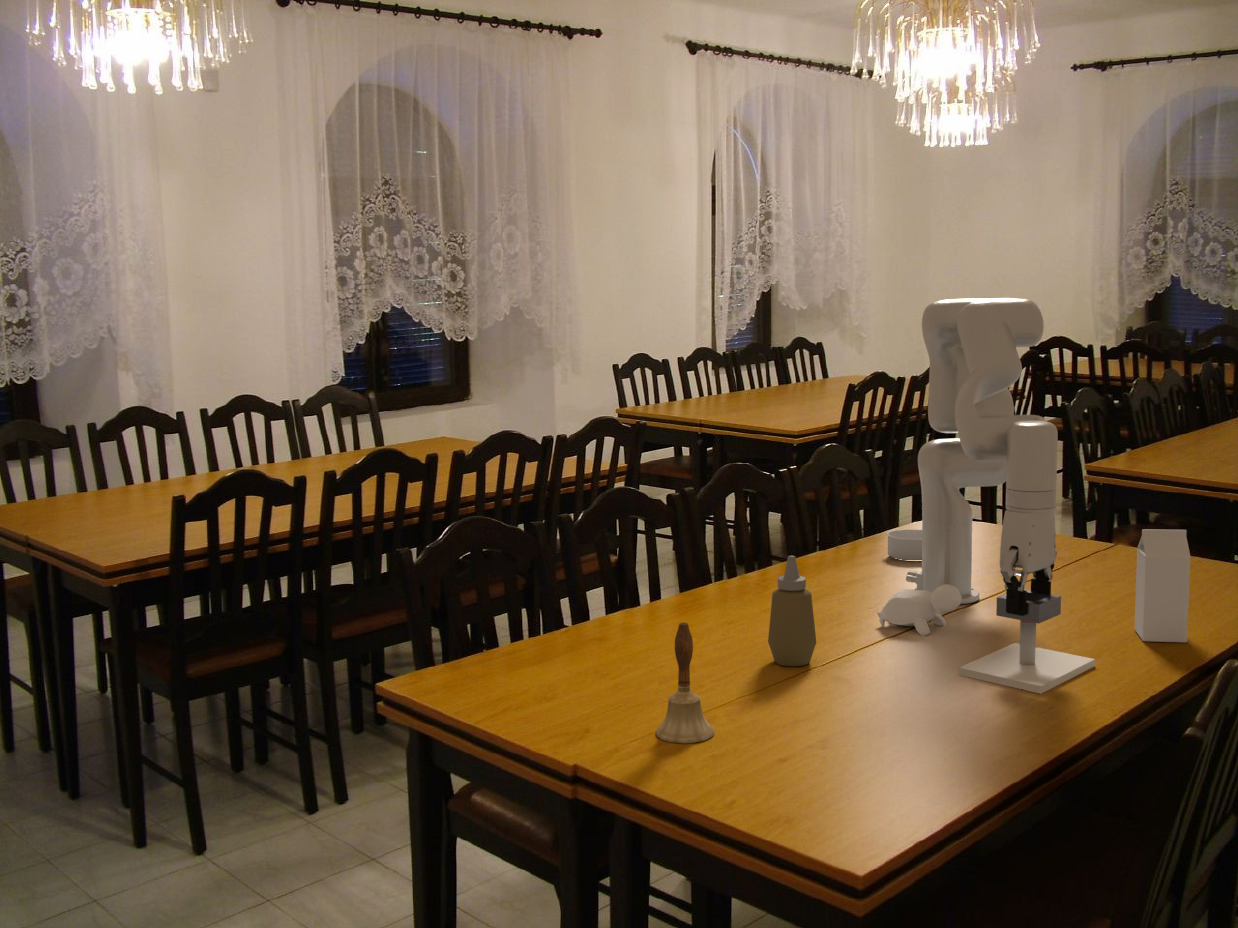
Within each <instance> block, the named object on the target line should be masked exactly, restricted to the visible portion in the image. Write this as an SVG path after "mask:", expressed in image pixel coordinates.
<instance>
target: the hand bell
mask: <svg viewBox="0 0 1238 928" xmlns="http://www.w3.org/2000/svg"><path fill="white" fill-rule="evenodd" d="M676 631H677V632H676V634H675V638H674V653H675V659H676V662H677V667H678V674H677V675H678V682H677V691H676V692H675V693H672V694H671V695H670V696H669V697H668V701H667V702H668V704H667V709H666V714H665V717H664V719H663V720H662V723H661V724H660V725H659V726H657V729H656V730H655V735H656V736H657V738H659V739H660V740H662V741H665V742H668V743H673V744H674V743H675V744H676V743H677V744H695V743H699V742H700V743H701V742H705V741H707V740H710V739H711V738H712V737H714V736H715V733H716V732H715V729H714V727H713V726H712V724H710V723H709V722H708V721H707V719H706V717H705V716H704V712H703V708H702V702H701V697H700V696H699V695H698V694H697V693H695V692H692V691H691V687H690V686H691V681H690V680H691V677H690V676H691V675H690V666H691V662H692V658H693V652H694V641H693V636H692V633H691V630H690V626H689V623H688V622H680V623H678V629H677V630H676Z"/></svg>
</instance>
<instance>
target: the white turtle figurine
mask: <svg viewBox="0 0 1238 928" xmlns="http://www.w3.org/2000/svg"><path fill="white" fill-rule="evenodd" d="M960 603H961V595H960V592H959V590H958V589H957V588H956V587H955V586H953V585H949V584H944V585H941V586H939V587H938V588H936V589H935V590H934V591H933V593H931V592H930V591H927V590H914V588H913V589H911V588H910V589H909V588H903V589H901V590H898V591H897V592H895V593H894V594H892V595H891V597H890V598H889V599H888V601H887V602H886V604H885V605H884V606H883V607H882V609H881V611H878V612H876V614H877V616H878V617H879V623H880V625H881V627H882V628H884V627H885V622H887V623H889V624H892V625H897V626H904V627H915V629H916V632H918V634H919V635H920V636H927V635H929V634H930V632H931V630H930V627H929V625H928V623H929V622H930V621H931V622H933V623H934V624H936V625H937V626H940V627H943V626H945V625H946V623H947V622H946V620H945V618H944V617H943V616H942V614H944V613H950V612H953V611H955V610H956V609H957V608H958V607H960V605H961V604H960Z"/></svg>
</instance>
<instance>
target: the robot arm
mask: <svg viewBox="0 0 1238 928" xmlns="http://www.w3.org/2000/svg"><path fill="white" fill-rule="evenodd" d="M1044 325H1045V324H1044V319H1043V314H1042V312H1041V310H1040V308H1039V306H1038V304H1037V303H1036V302H1035V301H1032V300H1031V299H1029V298H1028V299H1027V298H1017V297H1015V298H1014V297H1011V298H1010V297H995V298H992V297H991V298H990V297H989V298H951V299H942V300H941V299H940V300H937V301H934V302H931V303H929V304H928V305H927V306H926V307H925V308H924V311H923V313H922V317H921V331H922V336H923V337H922V338H923V342H924V345H925V348H926V351H927V354H928V359H929V372H928V373H929V375H928V377H929V378H928V398H927V399H928V402H927V414H928V415H927V417H928V423H929V425H930V428H932V429H933V430H934V431H936V432H938V433H942V434H943V433H944V434H958V435H957V436H958V438H957V437H956V438H953V437H952V438H938V439H932V440H930V441H927V442H925V443H924V444H923V445H922V446H921V447H920V449H919V451H918V455H917V467H918V474H919V479H920V487H921V503H922V505H921V510H922V513H921V516H922V518H921V520H922V521H921V522H922V527H921V530H922V562H921V572H919V571H916V570H908V572H907V574H906V577H905V581H906V582H908V583H915V584H916V588H913V590H927V591H930V592H931V593H933V591H934V590H935V589H936V588H938V587H939V586H941V585H944V584H949V585H953V586H955V587H956V588H957V589H958V590H959V592H960V595H961V603H960V605H966V604H972V603H975V602H978V600H979V599H980V592H979V590H977V589H975V588H972V573H973V572H972V569H973V568H972V567H973V566H972V562H973V561H972V560H973V559H972V557H973V556H972V555H973V510H972V506H971V504H970V502H969V501H968V500H967V499H966V498H965V497H964V495H963V494H962V493H961V492H960V489H963V488H964V489H965V488H974V487H975V488H976V487H996V486H1002V485H1003V484H1004V483H1005V511H1004V517H1003V521H1002V527H1001V536H1000V548H999V568H1000V570H999V572H1000V574H1001V577H1002V579H1003V583H1004V588H1005V590H1006V591H1005V594H1006V612H1007V613H1009V614H1014V615H1020V616H1024V615H1026V606H1027V591H1025V590H1026V589H1025V587H1026V583H1027V579H1028V578H1029V577H1028V576H1029V575H1030V574H1032V577H1033V578H1030V591H1034V592H1040V593H1046V594H1052V581H1053V577H1054V576H1053V569H1054V568H1055V562H1056V559H1057V556H1058V551H1057V550H1056V549H1057V548H1056V547H1057V546H1056V545H1057V544H1056V543H1057V542H1056V541H1057V538H1056V537H1057V535H1056V517H1055V511H1056V510H1057V479H1058V478H1057V474H1058V471H1057V470H1058V467H1057V466H1058V444H1059V443H1058V440H1059V439H1058V428H1057V426H1056V425H1055V424H1054V423H1052V422H1050V421H1047V420H1046V418H1044V417H1043V416H1040V415H1038V414H1037V415H1036V414H1015V413H1014V412H1015V408H1014V407H1015V405H1014V400H1013V396H1012V393H1011V391H1010V390H1009V388H1010V387H1012V386H1013V385H1014V384H1015V383H1016V382H1017V381H1018V380H1019V379H1020V377H1021V376H1022V371H1023V366H1022V361H1021V359H1020V356H1019V353H1018V350H1017V348H1030V347H1034V346H1036V345H1037V344H1039V342H1040V341H1041V339H1042V337H1043V334H1044ZM1016 568H1017V569H1016ZM1018 568H1019V569H1020V570H1019V569H1018ZM1021 569H1022V570H1021ZM1017 576H1019V579H1018V578H1017Z"/></svg>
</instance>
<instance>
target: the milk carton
mask: <svg viewBox="0 0 1238 928" xmlns="http://www.w3.org/2000/svg"><path fill="white" fill-rule="evenodd" d="M1136 548H1137V549H1136V573H1135V575H1136V576H1135V579H1136V580H1135V602H1134V603H1135V605H1134V606H1135V609H1134V631H1135V632H1136V633H1137V635H1138V636H1139V638H1140V639H1141V640H1142V641H1143V642H1158V643H1159V642H1161V643H1188V625H1189V624H1188V621H1189V604H1190V603H1189V601H1190V579H1191V577H1190V575H1191V574H1190V573H1191V554H1190V553H1191V552H1190V548H1189V543H1188V539H1187V529H1159V528H1158V529H1155V528H1154V529H1150V528H1149V529H1147V528H1146V529H1142V530H1141V537H1140V540H1139V543H1138V545H1137V547H1136Z"/></svg>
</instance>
